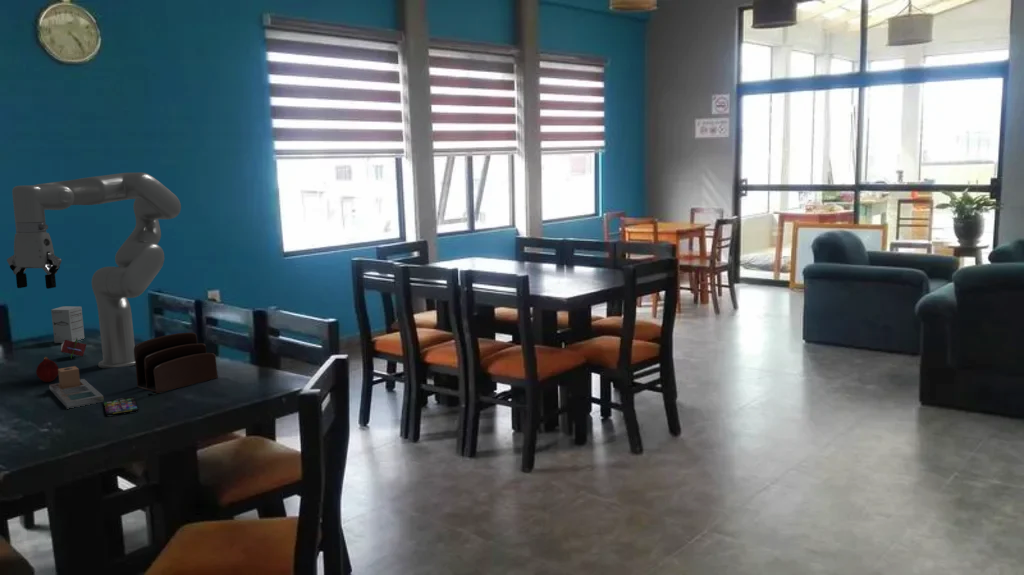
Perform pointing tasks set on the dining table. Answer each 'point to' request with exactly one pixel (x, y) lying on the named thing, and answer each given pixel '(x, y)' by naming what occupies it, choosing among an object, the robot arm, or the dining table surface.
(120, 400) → the smartphone
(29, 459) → the dining table surface
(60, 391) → the pale grey slotted tray
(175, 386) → the letter holder
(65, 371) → the brown rectangular block
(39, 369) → the onion
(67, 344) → the red box
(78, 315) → the supplement box
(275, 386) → the dining table surface
